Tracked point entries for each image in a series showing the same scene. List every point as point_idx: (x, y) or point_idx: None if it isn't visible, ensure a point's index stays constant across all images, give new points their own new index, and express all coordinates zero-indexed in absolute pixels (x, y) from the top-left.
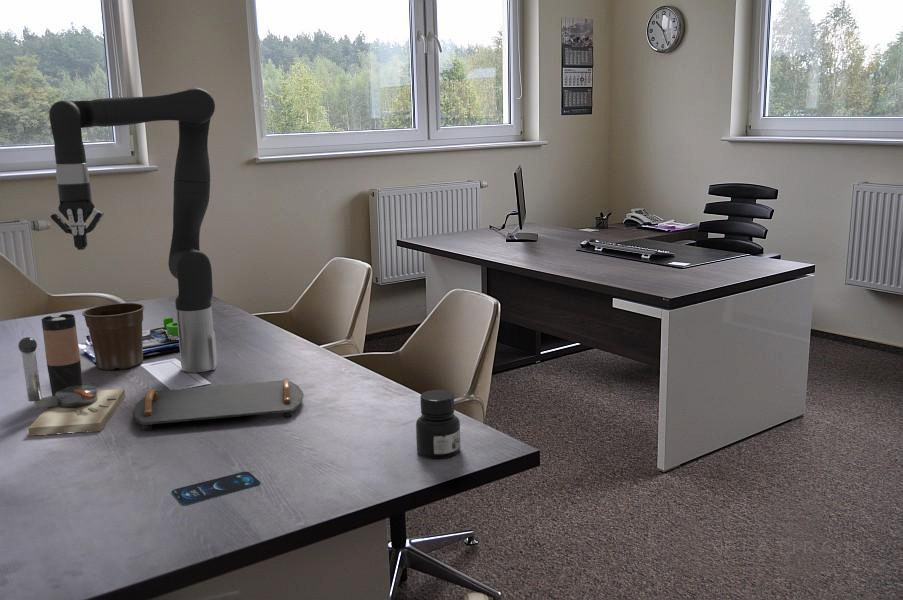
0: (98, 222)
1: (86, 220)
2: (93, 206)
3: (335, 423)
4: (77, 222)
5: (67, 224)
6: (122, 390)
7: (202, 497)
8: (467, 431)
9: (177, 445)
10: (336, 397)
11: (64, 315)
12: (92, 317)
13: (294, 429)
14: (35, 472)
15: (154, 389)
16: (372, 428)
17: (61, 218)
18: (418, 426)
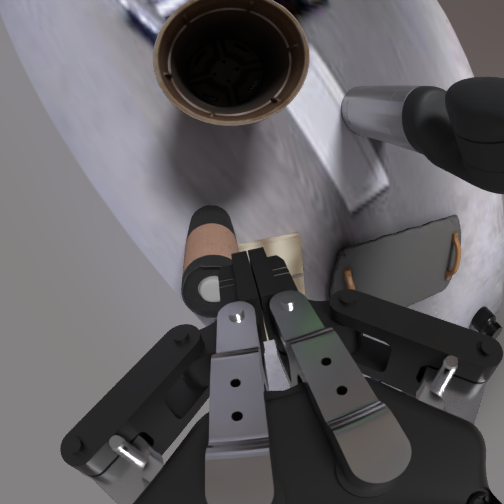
0: (425, 314)
1: (346, 355)
2: (474, 444)
3: (459, 288)
4: (264, 379)
5: (169, 378)
6: (299, 243)
7: (380, 381)
8: (497, 290)
9: (368, 337)
10: (473, 235)
11: (210, 265)
12: (206, 121)
13: (438, 301)
14: (281, 381)
15: (354, 289)
16: (470, 292)
17: (159, 454)
18: (480, 331)
